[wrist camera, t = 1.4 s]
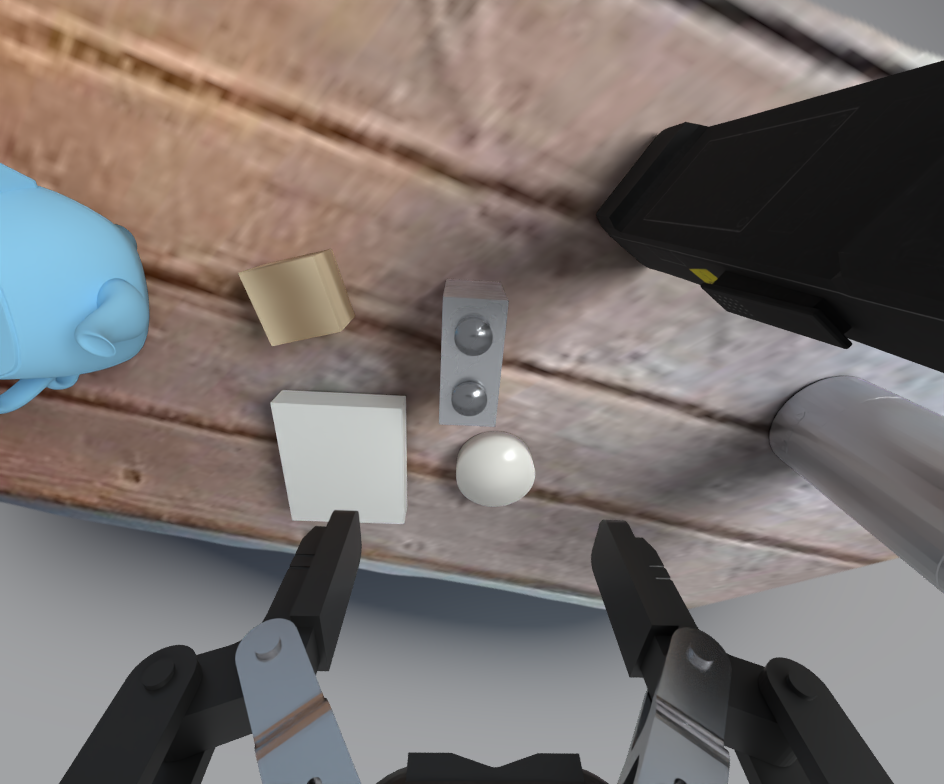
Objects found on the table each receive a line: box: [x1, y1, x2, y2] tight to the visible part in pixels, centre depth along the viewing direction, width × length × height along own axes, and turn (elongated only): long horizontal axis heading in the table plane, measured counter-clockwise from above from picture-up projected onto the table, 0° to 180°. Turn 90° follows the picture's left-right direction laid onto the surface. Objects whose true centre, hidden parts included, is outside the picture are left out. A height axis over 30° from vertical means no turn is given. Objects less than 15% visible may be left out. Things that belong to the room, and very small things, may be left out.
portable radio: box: [596, 61, 944, 373], centre depth 16 cm, size 8×6×25 cm
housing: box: [439, 279, 509, 427], centre depth 28 cm, size 4×9×7 cm, turn 176°
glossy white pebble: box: [456, 431, 535, 507], centre depth 36 cm, size 7×7×2 cm
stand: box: [270, 390, 407, 524], centre depth 34 cm, size 10×12×3 cm
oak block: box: [238, 249, 355, 346], centre depth 27 cm, size 5×5×4 cm
